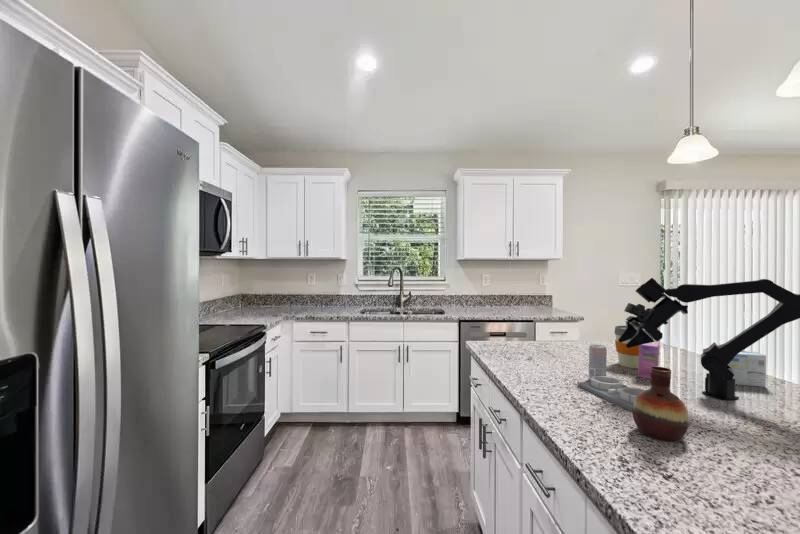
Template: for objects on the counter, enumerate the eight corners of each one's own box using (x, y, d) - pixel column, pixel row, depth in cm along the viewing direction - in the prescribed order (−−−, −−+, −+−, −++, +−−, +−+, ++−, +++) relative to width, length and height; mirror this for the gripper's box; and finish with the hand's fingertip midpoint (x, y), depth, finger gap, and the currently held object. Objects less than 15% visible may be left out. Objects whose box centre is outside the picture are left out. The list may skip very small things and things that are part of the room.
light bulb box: (754, 381, 133) (754, 350, 133) (766, 387, 127) (767, 355, 127) (717, 378, 136) (718, 348, 136) (728, 384, 130) (729, 352, 130)
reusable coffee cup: (606, 363, 156) (607, 326, 156) (627, 360, 161) (627, 324, 161) (637, 371, 144) (637, 331, 144) (657, 367, 150) (658, 329, 150)
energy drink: (602, 378, 134) (602, 344, 134) (608, 383, 128) (609, 348, 128) (586, 378, 134) (586, 344, 134) (592, 382, 129) (592, 347, 129)
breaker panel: (671, 408, 106) (671, 397, 106) (631, 411, 104) (631, 399, 104) (612, 384, 128) (612, 374, 128) (577, 385, 125) (578, 376, 125)
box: (657, 380, 133) (657, 346, 133) (637, 377, 137) (638, 344, 137) (659, 373, 141) (659, 341, 141) (640, 370, 145) (641, 339, 145)
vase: (635, 420, 98) (636, 360, 98) (689, 432, 91) (691, 368, 91) (628, 434, 89) (629, 368, 89) (687, 449, 82) (689, 378, 82)
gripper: (633, 293, 136) (598, 322, 140) (651, 297, 118) (611, 330, 122) (657, 316, 134) (622, 345, 137) (680, 324, 116) (638, 357, 119)
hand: (622, 344), depth 129 cm, fingers open, 9 cm apart
